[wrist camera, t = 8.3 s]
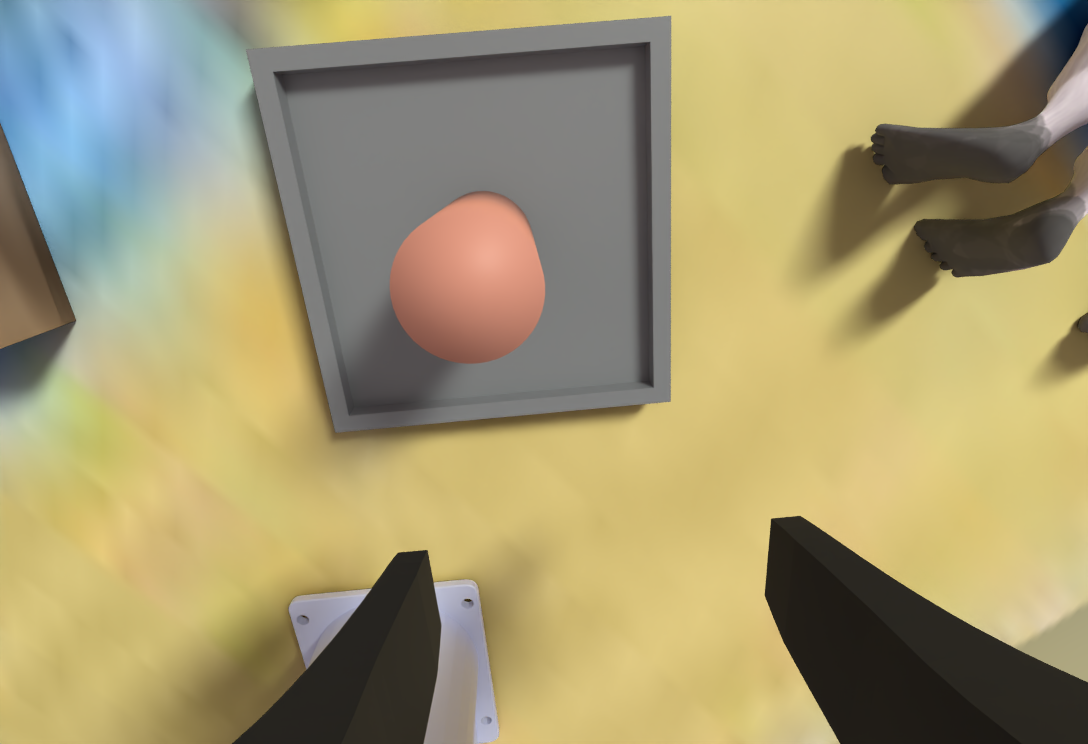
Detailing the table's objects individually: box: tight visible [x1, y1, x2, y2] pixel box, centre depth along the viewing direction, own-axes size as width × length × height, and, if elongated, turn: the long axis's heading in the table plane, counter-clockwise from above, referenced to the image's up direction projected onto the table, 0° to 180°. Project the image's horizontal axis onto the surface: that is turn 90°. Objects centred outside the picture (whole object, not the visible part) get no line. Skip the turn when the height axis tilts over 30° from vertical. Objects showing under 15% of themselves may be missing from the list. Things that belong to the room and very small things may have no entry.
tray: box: [246, 16, 671, 433], centre depth 19 cm, size 12×12×2 cm
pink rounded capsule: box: [390, 191, 545, 364], centre depth 15 cm, size 3×3×8 cm
